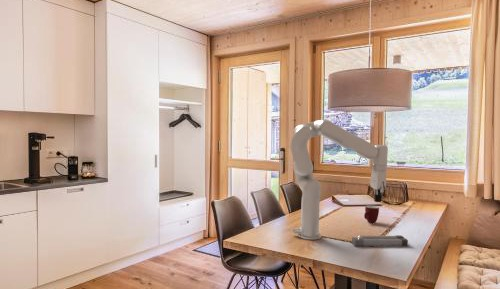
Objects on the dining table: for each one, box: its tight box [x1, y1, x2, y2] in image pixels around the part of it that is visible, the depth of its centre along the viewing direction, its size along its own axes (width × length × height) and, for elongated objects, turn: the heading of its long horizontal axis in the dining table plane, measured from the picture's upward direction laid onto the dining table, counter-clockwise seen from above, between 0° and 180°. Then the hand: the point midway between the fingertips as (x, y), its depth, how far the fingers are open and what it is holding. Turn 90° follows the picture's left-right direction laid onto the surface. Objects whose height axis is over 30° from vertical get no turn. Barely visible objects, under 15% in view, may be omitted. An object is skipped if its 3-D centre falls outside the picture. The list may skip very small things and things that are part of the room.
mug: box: [363, 204, 380, 224], centre depth 214 cm, size 11×8×10 cm
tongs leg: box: [361, 234, 405, 238], centre depth 178 cm, size 22×3×3 cm, turn 93°
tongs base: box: [351, 235, 409, 248], centre depth 174 cm, size 27×5×4 cm, turn 93°
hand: (377, 201), depth 187 cm, fingers closed
